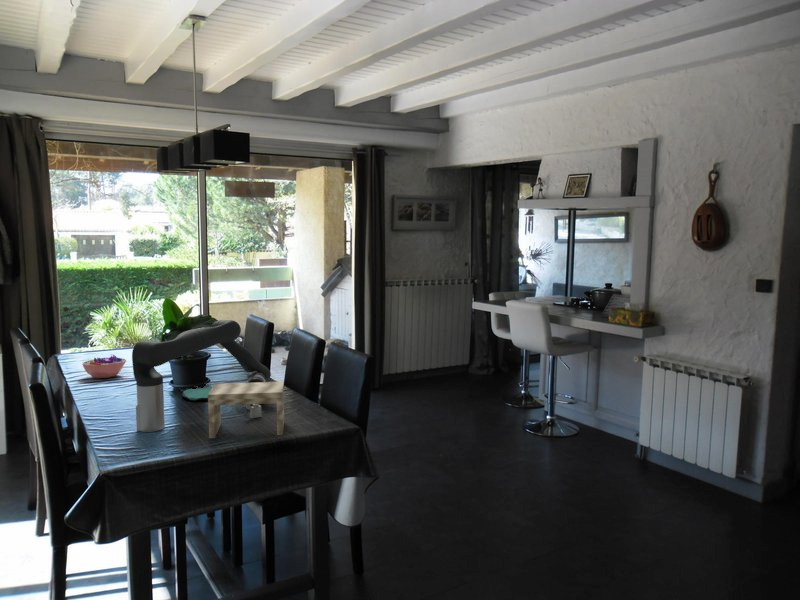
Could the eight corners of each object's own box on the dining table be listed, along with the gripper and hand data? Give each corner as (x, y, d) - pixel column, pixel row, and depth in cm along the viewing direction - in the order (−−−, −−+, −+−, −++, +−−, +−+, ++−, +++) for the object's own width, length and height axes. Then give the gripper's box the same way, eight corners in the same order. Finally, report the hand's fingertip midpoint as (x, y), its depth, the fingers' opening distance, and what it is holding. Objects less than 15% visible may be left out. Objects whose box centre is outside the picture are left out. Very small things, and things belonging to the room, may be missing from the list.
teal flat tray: (188, 405, 263) (187, 399, 263) (173, 389, 289) (173, 384, 289) (233, 398, 274) (233, 393, 274) (215, 384, 299) (215, 379, 299)
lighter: (259, 415, 248) (259, 396, 247) (261, 416, 246) (261, 397, 246) (243, 418, 243) (242, 399, 243) (244, 419, 242) (244, 400, 241)
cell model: (83, 375, 314) (82, 353, 313) (126, 372, 322) (125, 350, 321) (82, 382, 299) (81, 360, 297) (127, 379, 307) (126, 356, 306)
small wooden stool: (209, 438, 220) (207, 394, 219) (215, 424, 236) (214, 383, 234) (282, 434, 224) (282, 392, 223) (284, 421, 240) (283, 381, 238)
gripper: (239, 376, 267) (235, 385, 251) (272, 375, 269) (270, 384, 254) (239, 393, 268) (235, 403, 252) (272, 392, 270) (270, 402, 254)
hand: (253, 394), depth 253 cm, fingers open, 8 cm apart
